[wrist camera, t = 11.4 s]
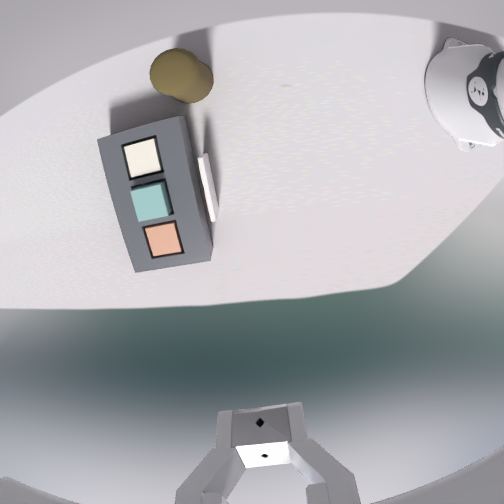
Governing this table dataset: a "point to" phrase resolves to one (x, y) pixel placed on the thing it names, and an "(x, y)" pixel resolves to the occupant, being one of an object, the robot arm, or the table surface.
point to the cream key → (143, 157)
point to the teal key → (152, 200)
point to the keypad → (179, 185)
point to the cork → (181, 76)
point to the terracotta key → (164, 238)
